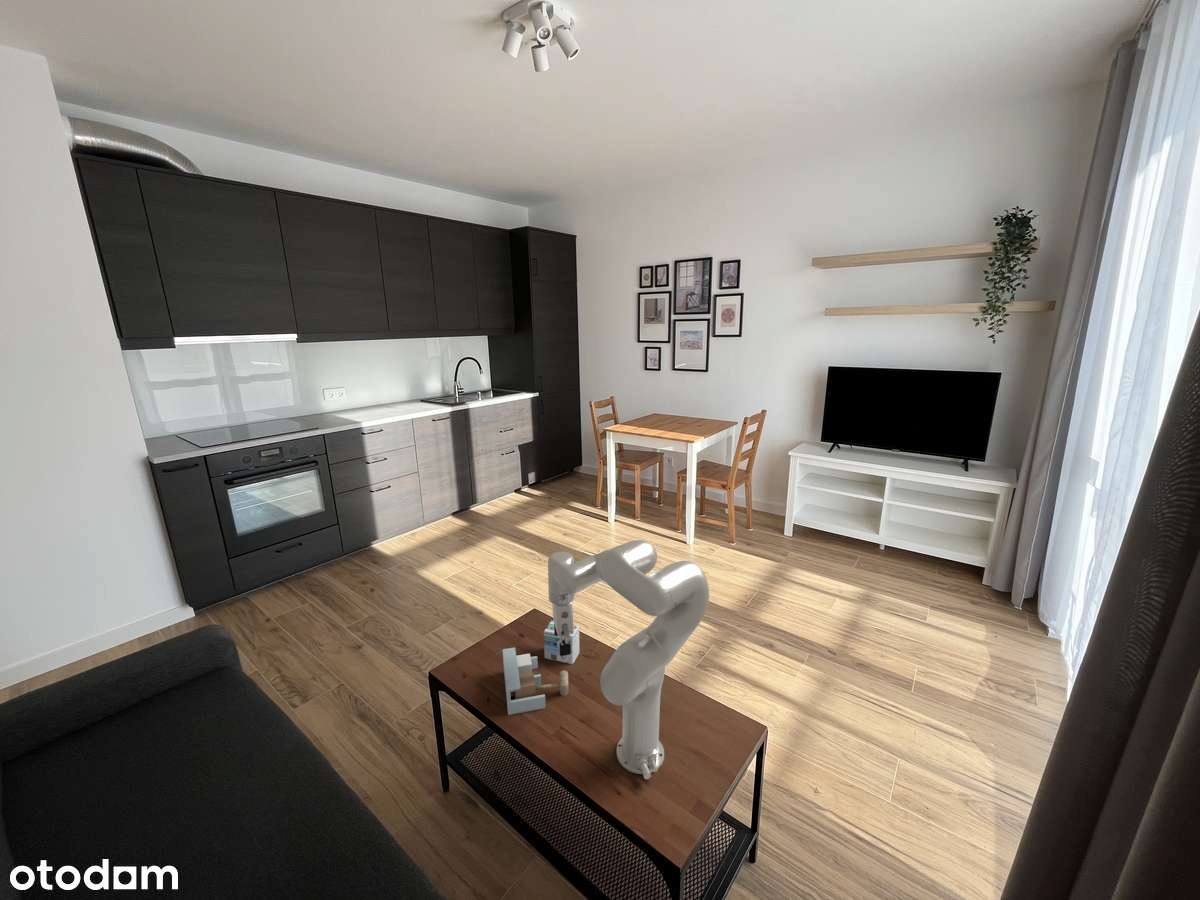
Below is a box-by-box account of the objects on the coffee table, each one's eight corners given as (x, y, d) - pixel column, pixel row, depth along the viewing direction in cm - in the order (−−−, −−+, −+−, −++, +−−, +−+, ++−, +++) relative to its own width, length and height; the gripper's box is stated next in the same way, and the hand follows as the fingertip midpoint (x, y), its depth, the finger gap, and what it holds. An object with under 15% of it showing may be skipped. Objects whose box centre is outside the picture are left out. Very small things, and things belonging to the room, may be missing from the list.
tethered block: (570, 698, 151) (569, 678, 150) (516, 708, 148) (515, 688, 146) (566, 685, 157) (566, 666, 155) (514, 695, 153) (513, 676, 151)
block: (532, 683, 158) (531, 664, 156) (513, 686, 157) (512, 667, 155) (530, 671, 163) (529, 653, 161) (512, 674, 162) (511, 656, 160)
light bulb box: (544, 658, 169) (543, 631, 167) (551, 646, 176) (550, 619, 173) (573, 664, 166) (572, 636, 164) (580, 652, 173) (579, 625, 170)
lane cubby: (545, 707, 148) (544, 683, 146) (508, 715, 145) (506, 690, 143) (537, 666, 166) (536, 643, 163) (503, 672, 163) (502, 649, 161)
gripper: (580, 608, 138) (580, 661, 142) (568, 577, 154) (569, 625, 159) (553, 612, 136) (554, 665, 141) (544, 580, 152) (545, 629, 157)
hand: (562, 644), depth 150 cm, fingers open, 9 cm apart
